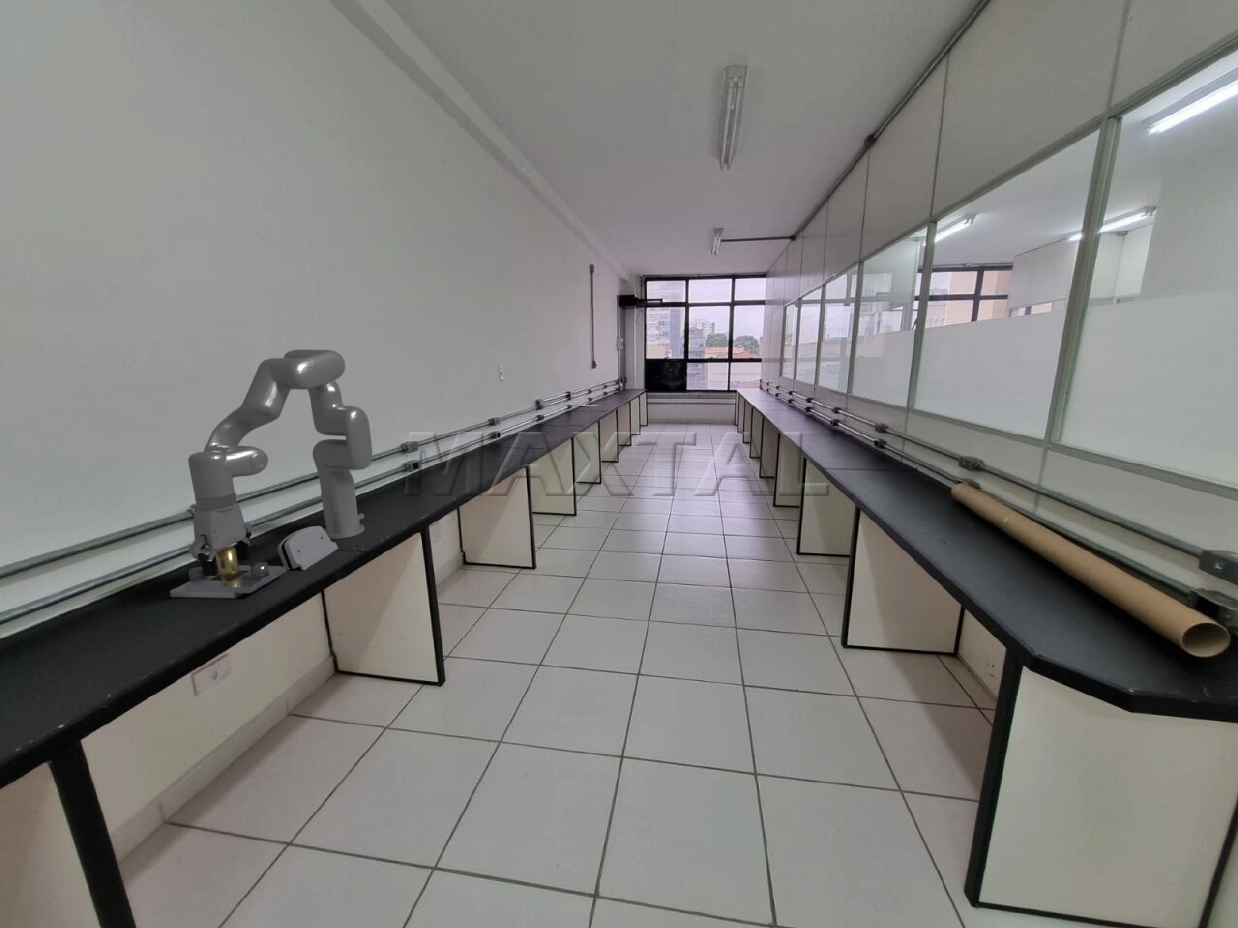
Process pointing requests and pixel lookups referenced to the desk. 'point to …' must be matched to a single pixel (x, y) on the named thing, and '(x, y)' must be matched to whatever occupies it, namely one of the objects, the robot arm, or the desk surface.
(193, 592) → the knobbed base plate
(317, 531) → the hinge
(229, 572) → the pin
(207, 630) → the desk surface
